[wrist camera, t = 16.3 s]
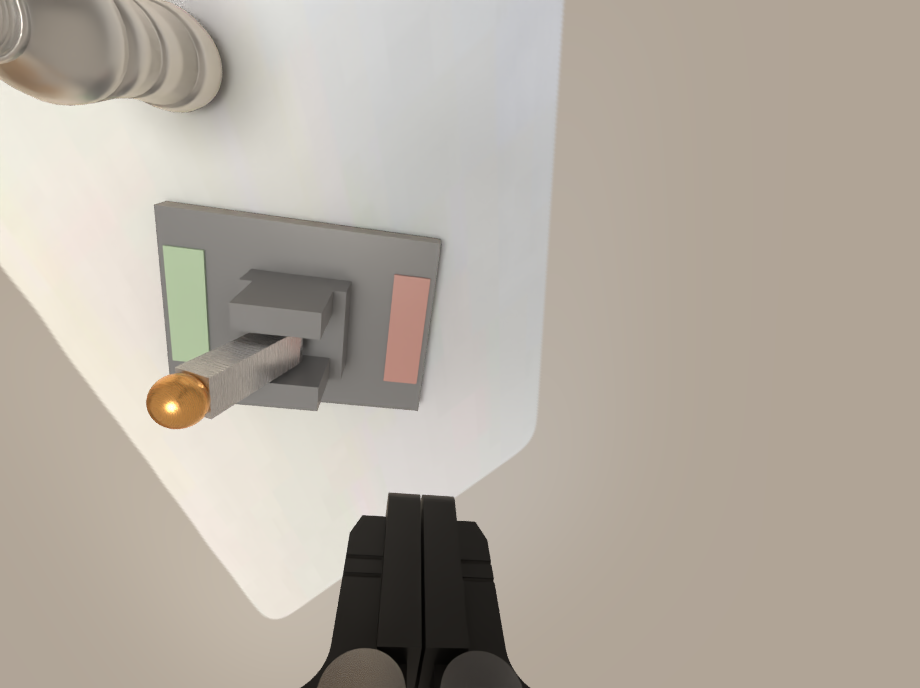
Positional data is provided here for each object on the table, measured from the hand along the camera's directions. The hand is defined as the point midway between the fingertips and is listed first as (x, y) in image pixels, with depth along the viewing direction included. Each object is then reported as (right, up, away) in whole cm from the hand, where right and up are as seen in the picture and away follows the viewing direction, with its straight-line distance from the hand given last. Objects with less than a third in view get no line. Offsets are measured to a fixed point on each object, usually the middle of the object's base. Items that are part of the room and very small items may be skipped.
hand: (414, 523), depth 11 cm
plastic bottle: (-19, +24, +24) cm, 39 cm away
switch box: (-13, +7, +32) cm, 35 cm away
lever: (-12, +5, +27) cm, 30 cm away
